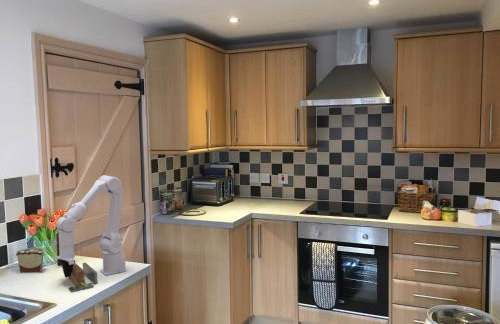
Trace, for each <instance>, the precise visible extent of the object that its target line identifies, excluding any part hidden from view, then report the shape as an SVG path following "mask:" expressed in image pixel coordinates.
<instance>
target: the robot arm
mask: <svg viewBox="0 0 500 324" xmlns="http://www.w3.org/2000/svg"><path fill="white" fill-rule="evenodd" d="M122 185H123V182H122V181H121V180H120V179H119V178H118V177H117V176H110V175H105V174H103V175H100V177H98V179H97V180H96V181H94V183H93V185H92V186H91V188H90V189H89V190H88V192H87V193H86V194H85V195H84V196H83V197H82V199H81V201H79V202H75V203H72V205H71V207H70V208H69V209H68V210H67V212H66V213H64V214H63V216H60V217H59V218H58V219H57V221H56V223H55V227H56V229H57V230H58V232H59V256H57V255H56V259H62V260H60V261H59V262H60V264H61V266H60V267H61V268H62V269H61V270H62V272H63V276H64V278H69V277H71V273H72V268H73V265H74V264H75V263H76V260H75V256H76V255H75V240H74V230H75V229H76V226H77V222H79V220H80V219H81V218H82V217H83V216H84V214H86V212H87V211H88V210H87V207H88V206H89V205H90V204H91V203H92V202H93V201H94V200H96V198H97V197H98V196H99V195H100V194H105V193H107V194H108V195H109V196H110V202H109V208H108V209H109V210H108V216H107V223H106V231H104V232H103V233H102V237H101V239H100V241H99V247H100V249H102V269H100V270H99V271H100V272H101V273H102V274H103V275H105V276H109V275H114V274H119V273H123V272H126V271H127V269H126V254H125V252H124V250H122V247H123V244H122V236H121V234H120V232H119V230H120V224H121V216H122V212H123V203H124V198H125V197H124V196H125V192H124V189H123V186H122Z"/></svg>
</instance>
